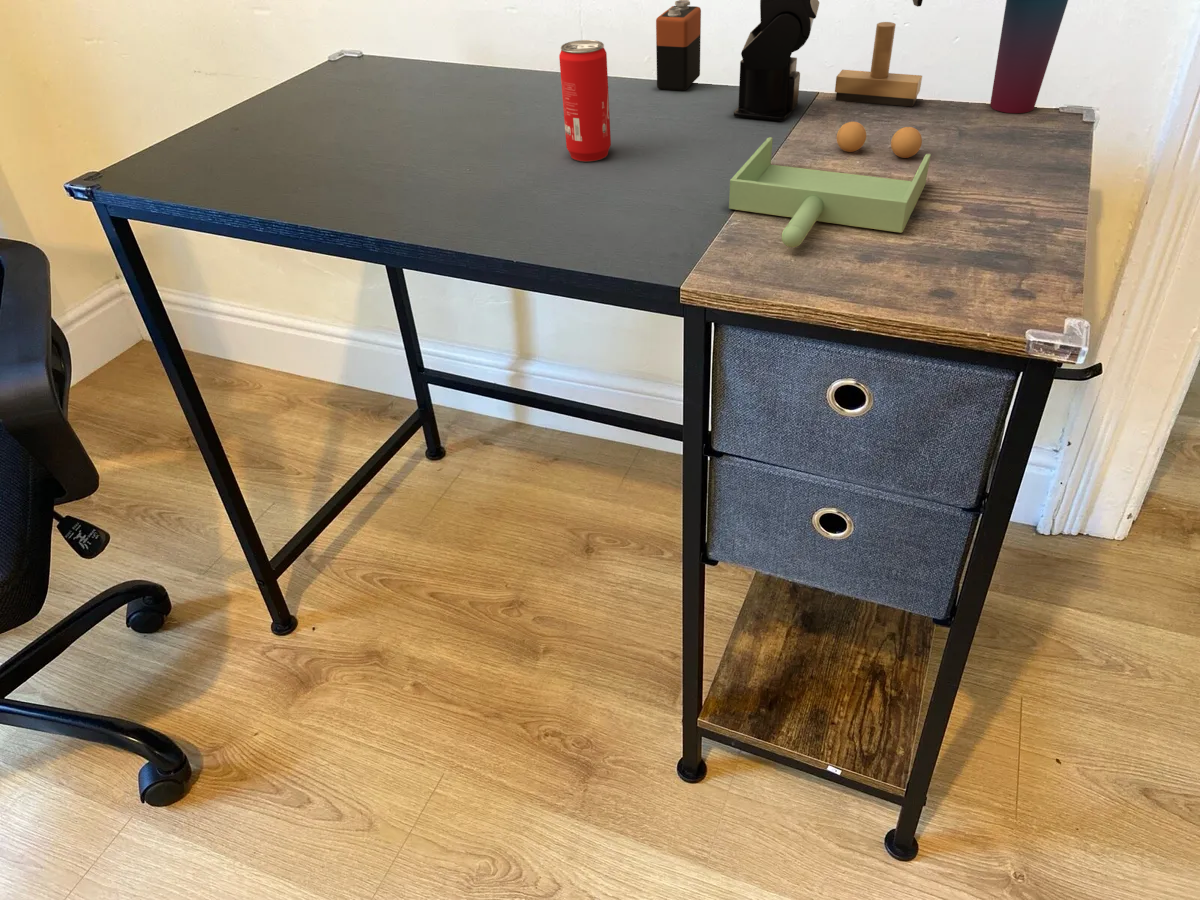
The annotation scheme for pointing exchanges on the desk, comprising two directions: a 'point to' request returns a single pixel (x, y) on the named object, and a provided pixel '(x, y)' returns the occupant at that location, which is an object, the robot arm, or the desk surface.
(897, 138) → the cork ball
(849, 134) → the cork ball
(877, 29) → the brush
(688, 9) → the battery
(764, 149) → the dustpan
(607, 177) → the desk surface
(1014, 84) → the cup
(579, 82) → the beverage can
